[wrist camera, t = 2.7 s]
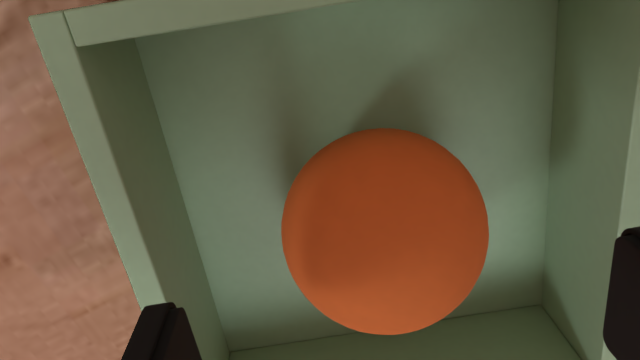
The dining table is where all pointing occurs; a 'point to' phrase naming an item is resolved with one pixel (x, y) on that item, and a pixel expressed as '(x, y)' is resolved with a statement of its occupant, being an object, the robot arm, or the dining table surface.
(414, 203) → the ball
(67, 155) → the dining table surface
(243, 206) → the box
